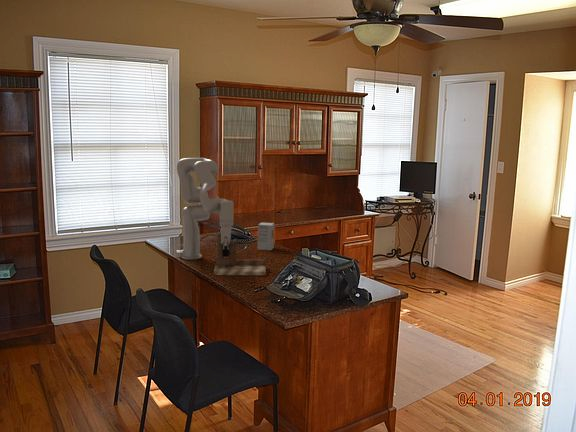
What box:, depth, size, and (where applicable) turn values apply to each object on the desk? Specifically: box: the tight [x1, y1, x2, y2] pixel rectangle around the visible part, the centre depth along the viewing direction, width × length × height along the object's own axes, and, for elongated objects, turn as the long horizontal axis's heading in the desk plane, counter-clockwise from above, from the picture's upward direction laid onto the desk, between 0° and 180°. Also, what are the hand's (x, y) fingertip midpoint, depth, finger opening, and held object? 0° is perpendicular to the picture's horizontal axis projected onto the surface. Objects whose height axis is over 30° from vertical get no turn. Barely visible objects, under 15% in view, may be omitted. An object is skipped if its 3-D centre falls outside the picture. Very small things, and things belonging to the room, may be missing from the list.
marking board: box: [213, 258, 267, 276], centre depth 280 cm, size 28×14×5 cm, turn 94°
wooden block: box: [215, 231, 238, 265], centre depth 280 cm, size 4×11×18 cm, turn 108°
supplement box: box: [257, 222, 275, 251], centre depth 334 cm, size 10×9×17 cm
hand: (226, 254), depth 280 cm, fingers closed on wooden block, 4 cm apart
